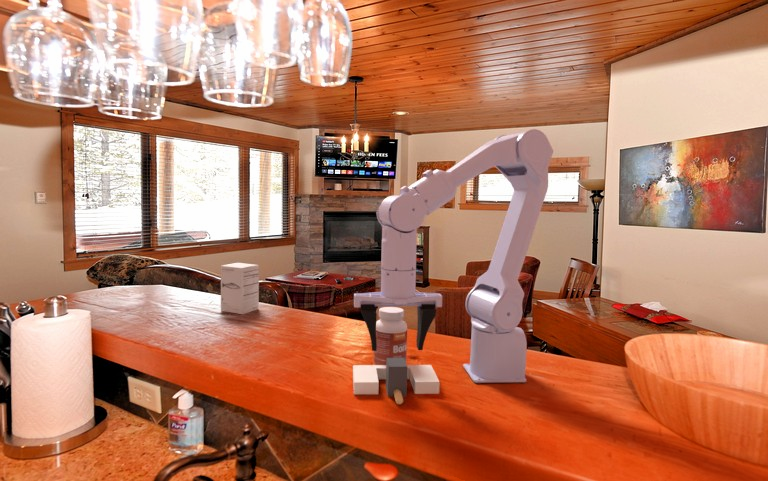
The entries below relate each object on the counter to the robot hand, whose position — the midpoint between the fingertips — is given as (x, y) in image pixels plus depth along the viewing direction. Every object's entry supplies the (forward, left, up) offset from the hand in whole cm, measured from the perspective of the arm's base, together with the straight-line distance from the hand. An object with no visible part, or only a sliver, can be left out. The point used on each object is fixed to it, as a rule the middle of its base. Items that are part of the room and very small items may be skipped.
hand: (396, 348), depth 76 cm
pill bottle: (0, -9, -7) cm, 11 cm away
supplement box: (+37, -51, -7) cm, 63 cm away
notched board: (0, -1, -7) cm, 7 cm away
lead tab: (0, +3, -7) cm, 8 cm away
